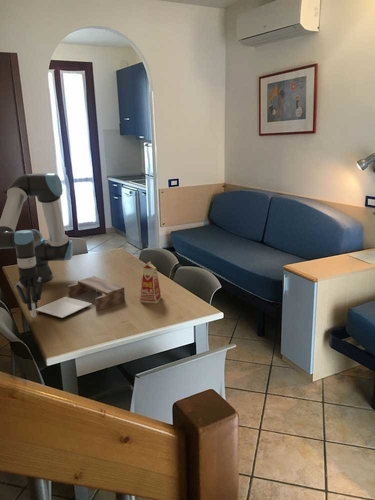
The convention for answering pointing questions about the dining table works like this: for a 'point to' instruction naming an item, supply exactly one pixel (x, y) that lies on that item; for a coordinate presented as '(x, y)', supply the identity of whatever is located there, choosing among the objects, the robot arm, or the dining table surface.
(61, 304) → the plate
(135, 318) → the dining table surface
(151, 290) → the milk carton
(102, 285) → the overhang shelf
